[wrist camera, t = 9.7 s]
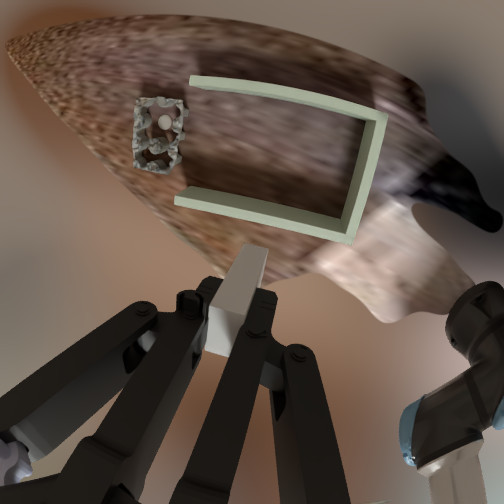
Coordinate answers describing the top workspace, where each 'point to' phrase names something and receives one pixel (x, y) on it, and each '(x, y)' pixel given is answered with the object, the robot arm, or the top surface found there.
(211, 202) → the u-shaped frame
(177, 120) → the egg carton
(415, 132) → the top surface
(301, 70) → the top surface
